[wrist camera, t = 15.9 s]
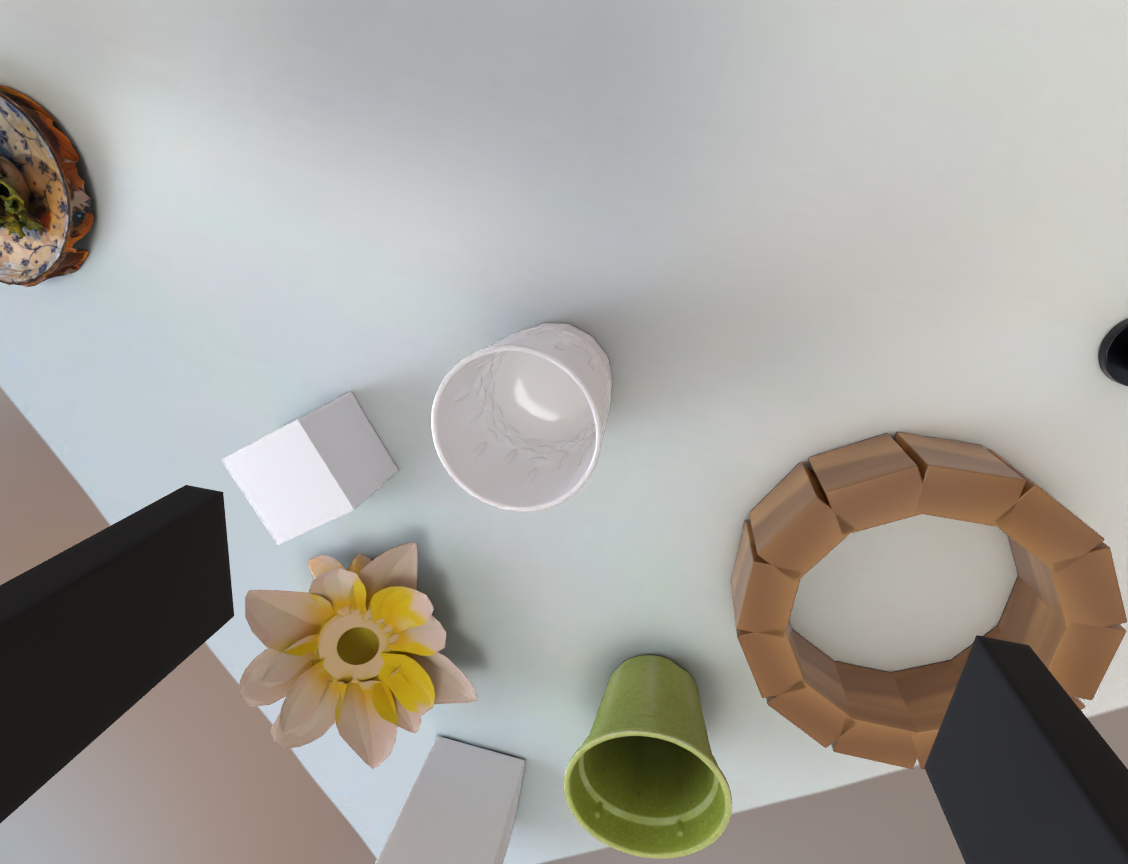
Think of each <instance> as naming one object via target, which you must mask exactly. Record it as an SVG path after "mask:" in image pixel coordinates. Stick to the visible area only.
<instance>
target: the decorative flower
mask: <svg viewBox="0 0 1128 864" xmlns="http://www.w3.org/2000/svg"><path fill="white" fill-rule="evenodd" d="M308 566H309V568H310V570H311V573H312V575H313V578H314V581H313V582H312V584H311V587H310V590H309V592H310V593H305V592H292V591H279V590H250V591H248V593H247V595H246V597H245V617H246V619H247V622H248V624H249V626H250V628H251V630H252V632H253V633H254V634H255V635H256V636H257V637H258V638H259V639H260V640H261V642H262V643H263V644H264V645H265V646H266V647H268V648H269V649H266V650H265V651H263V652H262V653H261V654H260V655H258V656H257V657H256V658H254V660H253V661H252V662H251V663H250V664H249V666H248V667H247V668H246V669H245V671H244V673H243V675H242V677H241V680H240V690H239V695H240V696H241V697H242V699H244V701H245V702H246V703H247V704H248V705H249V706H261V705H270V704H272V703H274V702H276V701H278V700H280V699H282V698H284V697H285V696H286V695H287V696H286V699H285V701H284V703H283V705H282V708H281V712H280V714H279V716H278V718H277V719H276V721H275V723H274V724H273V726H272V728H271V730H270V731H271V734H272V736H273V739H274V741H275V743H277V744H279V745H282V746H284V747H286V748H293V747H300V746H302V745H305V744H308V743H310V742H312V741H314V740H316V739H318V738H319V737H321V736H323V735H324V733H325V732H326V731H327V730H328V729H329V728H330V727H331V726H332V725H333V724H334V722H335V720H336V726H337V728H338V731H339V734H340V736H341V737H342V738H343V739H344V740H345V741H346V742H347V743H348V745H349V746H350V747H351V748H352V749H353V750H354V751H355V752H356V753H357V754H358V755H359V756H360V757H361V759H362V760H363V761H364V762H365V763H366V764H368V765H369V766H370V767H371V768H372V769H373V768H375V767H377V766H379V765H380V764H381V763H382V762H383V761H384V760H386V759H387V758H388V757H389V756H390V754H391V751H392V749H393V746H394V744H395V741H396V733H397V726H399V727H401V728H403V729H405V730H407V731H410V732H413V733H416V732H417V731H418V729H419V726H420V724H421V715H423V714H425V713H426V712H427V711H429V710H430V709H431V708H433V706H434V704H445V703H467V702H473V701H477V694H476V692H475V690H474V688H473V686H472V684H471V682H470V681H469V680H468V679H467V678H466V676H465V675H464V674H463V673H462V672H461V671H460V670H459V669H458V668H457V667H456V666H455V665H454V664H453V663H452V662H451V661H450V660H449V659H448V658H447V657H446V656H444V655H442V654H441V653H439V651H440V650H442V649H443V648H445V641H446V632H445V630H444V628H443V627H442V625H441V624H440V622H439V621H438V620H437V619H436V618H434V617H433V616H432V612H433V610H434V607H433V605H432V604H431V602H430V600H429V599H428V597H427V595H426V594H423V593H421V592H419V591H417V545H416V543H407V544H404V545H400V546H397V547H394V548H391V549H390V550H388V551H386V552H385V553H383V554H381V555H380V556H378V557H376V558H375V559H374V560H373V561H372V560H371V559H370V558H369V557H367V556H365V555H363V554H357V556H356V557H355V558H354V560H353V562H352V563H351V565H350V567H349V568H348V570H345V569H344V568H343V566H342V564H341V563H339V562H338V561H337V560H335V559H334V558H332V557H330V556H325V555H320V556H317V557H314V558H312V559H310V560H309V561H308Z"/></svg>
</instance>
